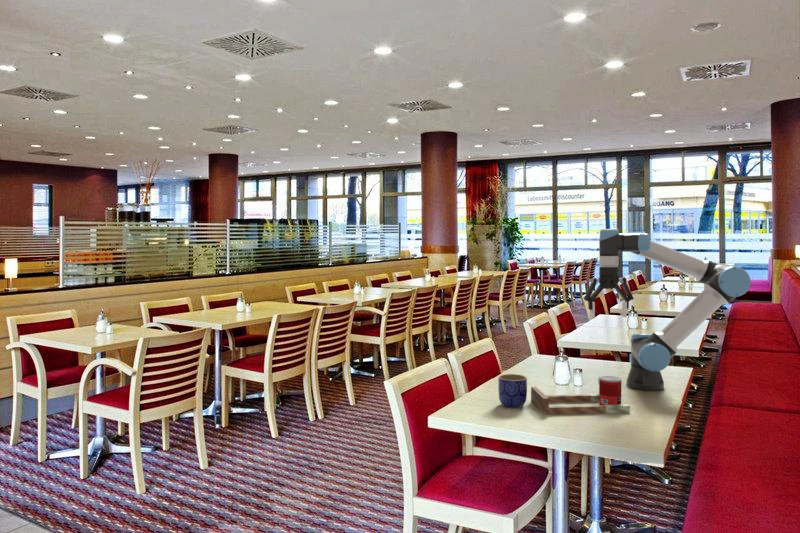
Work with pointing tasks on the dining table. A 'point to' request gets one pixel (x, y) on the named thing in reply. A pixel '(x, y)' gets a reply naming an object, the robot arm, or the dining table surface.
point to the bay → (543, 405)
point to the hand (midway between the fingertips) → (608, 317)
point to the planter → (512, 390)
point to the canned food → (610, 390)
